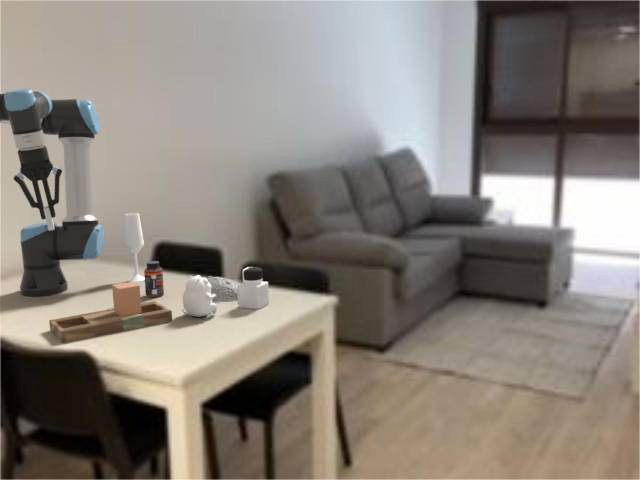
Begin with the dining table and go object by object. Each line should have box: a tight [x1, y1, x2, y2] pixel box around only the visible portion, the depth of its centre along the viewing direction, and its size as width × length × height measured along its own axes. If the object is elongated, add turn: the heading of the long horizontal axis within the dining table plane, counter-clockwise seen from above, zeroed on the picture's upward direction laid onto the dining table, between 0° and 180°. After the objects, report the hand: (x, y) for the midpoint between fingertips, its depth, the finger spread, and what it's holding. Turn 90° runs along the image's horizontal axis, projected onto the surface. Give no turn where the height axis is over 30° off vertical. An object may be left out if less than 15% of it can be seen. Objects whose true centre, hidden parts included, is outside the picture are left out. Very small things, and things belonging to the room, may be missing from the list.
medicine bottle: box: [237, 266, 270, 310], centre depth 214 cm, size 7×7×12 cm
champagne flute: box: [124, 212, 145, 283], centre depth 248 cm, size 7×7×24 cm
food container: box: [205, 275, 240, 303], centre depth 229 cm, size 16×25×7 cm, turn 41°
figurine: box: [181, 274, 218, 318], centre depth 204 cm, size 10×10×12 cm
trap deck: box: [49, 300, 173, 344], centre depth 197 cm, size 13×31×3 cm, turn 125°
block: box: [111, 281, 142, 316], centre depth 199 cm, size 6×6×8 cm
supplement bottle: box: [143, 260, 165, 298], centre depth 228 cm, size 6×6×11 cm
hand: (51, 228), depth 196 cm, fingers closed
